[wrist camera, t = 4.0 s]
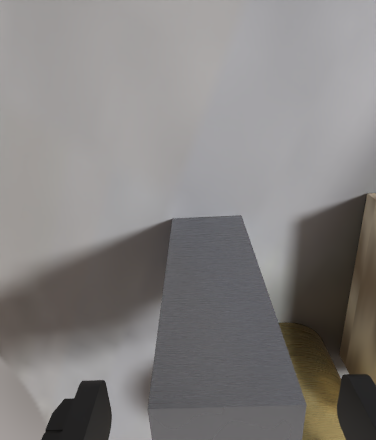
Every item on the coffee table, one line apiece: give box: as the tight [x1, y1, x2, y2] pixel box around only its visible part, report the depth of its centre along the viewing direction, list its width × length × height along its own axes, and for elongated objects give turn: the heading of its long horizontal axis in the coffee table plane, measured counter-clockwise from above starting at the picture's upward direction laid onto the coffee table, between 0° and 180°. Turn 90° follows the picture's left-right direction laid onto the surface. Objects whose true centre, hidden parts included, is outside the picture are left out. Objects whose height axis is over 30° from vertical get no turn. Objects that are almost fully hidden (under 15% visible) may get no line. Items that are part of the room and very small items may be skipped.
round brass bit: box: [279, 323, 346, 440], centre depth 19 cm, size 6×6×10 cm
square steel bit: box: [148, 216, 307, 440], centre depth 15 cm, size 4×4×12 cm
